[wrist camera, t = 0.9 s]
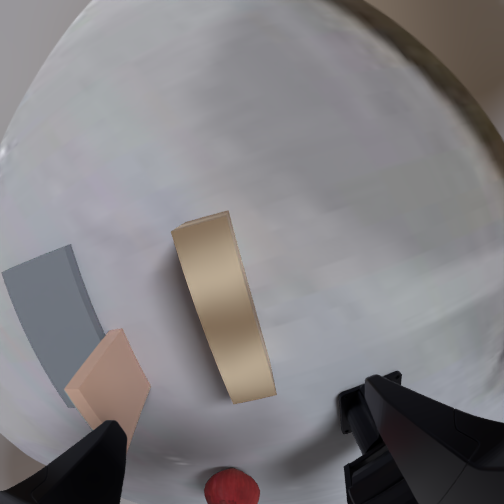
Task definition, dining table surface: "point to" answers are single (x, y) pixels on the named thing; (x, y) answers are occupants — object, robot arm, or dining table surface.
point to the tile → (110, 385)
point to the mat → (55, 314)
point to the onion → (231, 488)
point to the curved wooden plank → (225, 305)
